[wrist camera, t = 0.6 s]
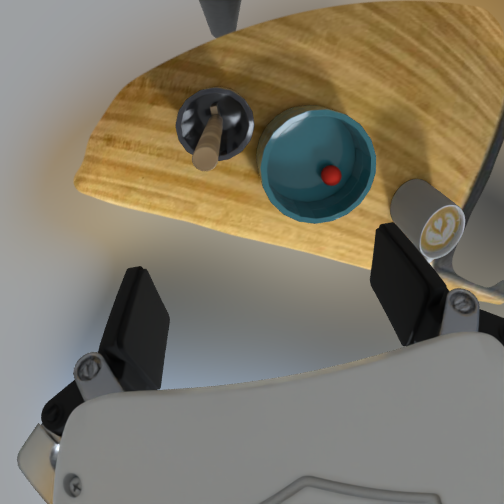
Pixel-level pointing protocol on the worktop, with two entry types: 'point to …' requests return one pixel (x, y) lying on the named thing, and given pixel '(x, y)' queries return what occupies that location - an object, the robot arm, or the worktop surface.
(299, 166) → the bowl
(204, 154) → the paddle
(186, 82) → the worktop surface
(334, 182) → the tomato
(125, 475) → the robot arm
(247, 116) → the crock
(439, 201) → the coffee mug
